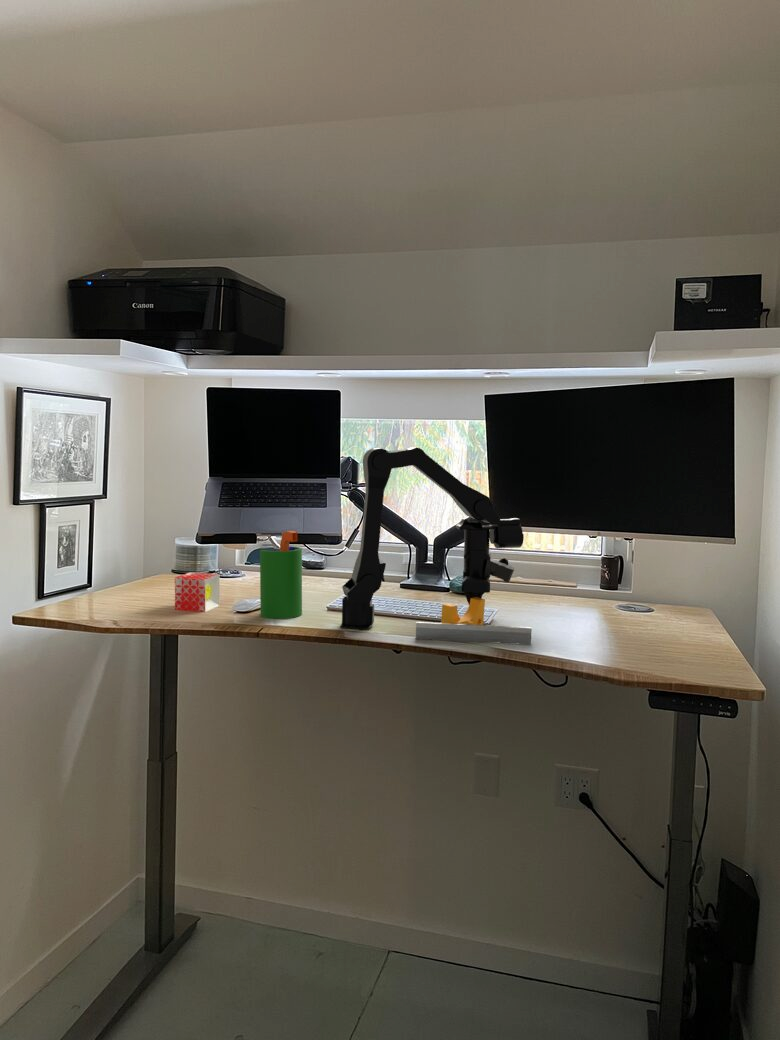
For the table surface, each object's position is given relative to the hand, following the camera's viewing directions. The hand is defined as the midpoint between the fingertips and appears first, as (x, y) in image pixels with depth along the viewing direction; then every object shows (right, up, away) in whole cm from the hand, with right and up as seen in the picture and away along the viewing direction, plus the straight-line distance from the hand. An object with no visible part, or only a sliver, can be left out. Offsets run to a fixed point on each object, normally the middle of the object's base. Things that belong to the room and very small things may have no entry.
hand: (475, 615), depth 183 cm
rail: (-2, -3, -16) cm, 17 cm away
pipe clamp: (-3, -3, -8) cm, 9 cm away
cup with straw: (-45, -1, +5) cm, 45 cm away
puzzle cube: (-67, 0, +10) cm, 67 cm away
